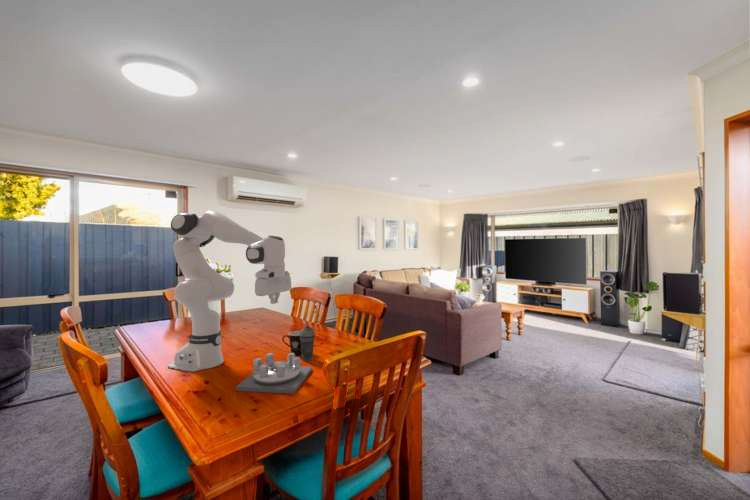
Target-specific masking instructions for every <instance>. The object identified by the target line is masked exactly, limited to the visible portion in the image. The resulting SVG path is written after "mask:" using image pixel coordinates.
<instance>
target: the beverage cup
mask: <svg viewBox="0 0 750 500" xmlns="http://www.w3.org/2000/svg"><path fill="white" fill-rule="evenodd" d="M303 318H304V327H302V328H301V329H300V331H301V332H300V335H299V337H300V341H301V350H302V355H301V357H302V359H301V361H302V362H311V361H312V360H313V356H314V343H315V337H316V334H315V329H313V328H312V327H310V326H307V321H306V320H307V319H306V317H303Z"/></svg>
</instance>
